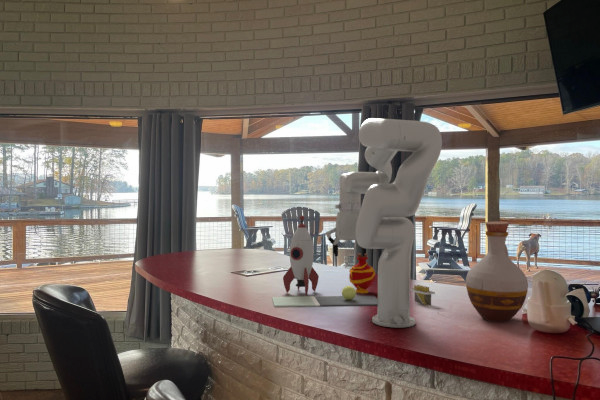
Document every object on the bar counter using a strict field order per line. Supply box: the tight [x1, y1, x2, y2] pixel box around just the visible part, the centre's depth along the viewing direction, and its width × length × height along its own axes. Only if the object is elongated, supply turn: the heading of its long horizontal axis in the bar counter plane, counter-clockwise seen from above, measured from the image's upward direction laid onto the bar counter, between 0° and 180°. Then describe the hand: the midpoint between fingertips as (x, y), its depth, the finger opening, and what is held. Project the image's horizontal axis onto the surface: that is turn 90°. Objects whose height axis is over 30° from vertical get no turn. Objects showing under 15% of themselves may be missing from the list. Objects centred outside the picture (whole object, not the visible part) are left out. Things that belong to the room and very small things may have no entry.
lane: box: [271, 295, 378, 308], centre depth 171 cm, size 14×38×1 cm, turn 96°
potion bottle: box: [348, 252, 376, 294], centre depth 190 cm, size 10×10×15 cm
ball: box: [341, 285, 357, 300], centre depth 172 cm, size 5×5×5 cm
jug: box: [465, 221, 529, 323], centre depth 150 cm, size 20×18×30 cm
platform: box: [410, 284, 436, 306], centre depth 170 cm, size 12×18×7 cm, turn 31°
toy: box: [282, 215, 319, 297], centre depth 187 cm, size 11×11×30 cm
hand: (349, 255), depth 172 cm, fingers open, 9 cm apart
